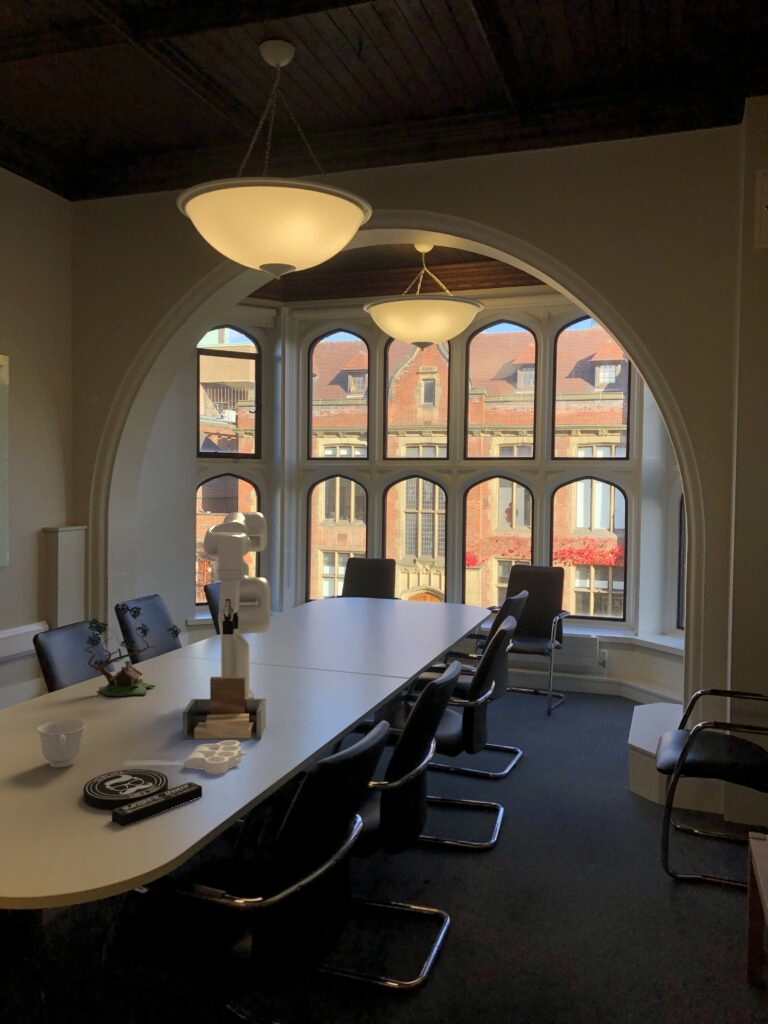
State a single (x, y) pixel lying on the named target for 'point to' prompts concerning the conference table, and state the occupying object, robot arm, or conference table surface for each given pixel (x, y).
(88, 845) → the conference table surface
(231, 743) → the white brass knuckles
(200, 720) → the rack
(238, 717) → the offcut upper
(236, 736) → the offcut lower
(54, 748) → the teacup
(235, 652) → the robot arm
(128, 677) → the bonsai tree
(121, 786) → the decorative sign
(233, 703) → the wooden plank
